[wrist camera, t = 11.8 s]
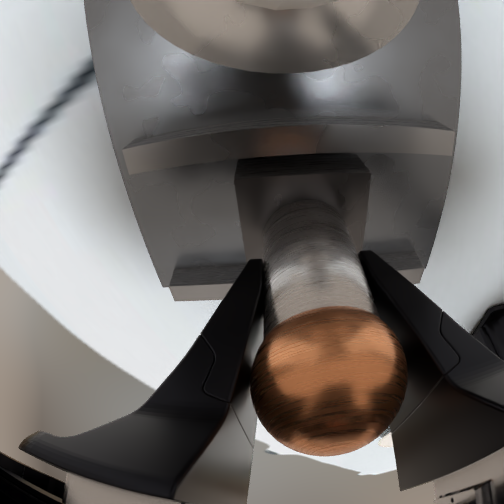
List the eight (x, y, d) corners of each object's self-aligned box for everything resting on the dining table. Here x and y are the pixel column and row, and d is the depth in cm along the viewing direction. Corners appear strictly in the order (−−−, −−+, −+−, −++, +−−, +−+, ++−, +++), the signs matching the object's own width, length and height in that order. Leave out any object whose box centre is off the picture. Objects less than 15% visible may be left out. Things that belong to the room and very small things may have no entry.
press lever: (356, 154, 10) (489, 382, 3) (348, 255, 13) (399, 456, 6) (237, 160, 10) (196, 425, 3) (251, 262, 13) (243, 474, 6)
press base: (413, -103, 3) (440, -119, 1) (415, 250, 15) (434, 283, 13) (96, -86, 4) (67, -101, 2) (169, 268, 16) (157, 304, 14)
